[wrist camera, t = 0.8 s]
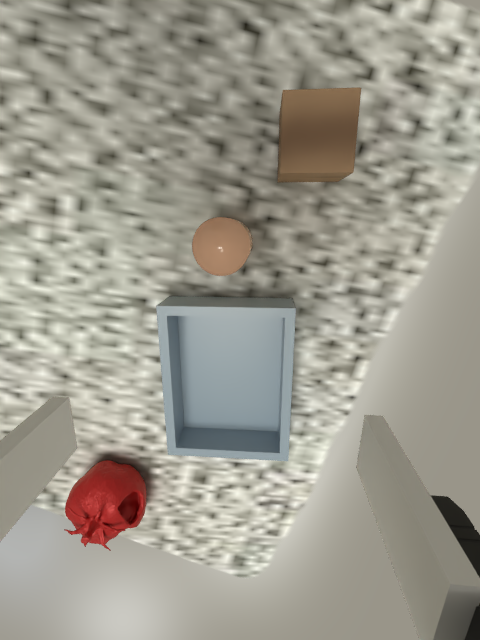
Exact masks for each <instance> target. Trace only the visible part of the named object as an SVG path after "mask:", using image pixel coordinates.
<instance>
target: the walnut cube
mask: <svg viewBox="0 0 480 640" xmlns="http://www.w3.org/2000/svg"><path fill="white" fill-rule="evenodd" d="M360 95H361V88H333V89H302V90H283V93H282V101H281V108H280V120H279V154H278V182H338V181H340V180H341V179H343V178H345V177H346V176H348V175H350V174H352V173H353V171H354V160H355V149H356V138H357V127H358V116H359V106H360Z"/></svg>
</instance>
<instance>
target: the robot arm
mask: <svg viewBox="0 0 480 640" xmlns="http://www.w3.org/2000/svg"><path fill="white" fill-rule="evenodd" d="M76 449H77V442H76V436H75V430H74V424H73V418H72V411H71V405H70V399H69V397H52V398H51V399H50V400H48V401H47V402H46V403H45V404H44V405H42V406H41V407H40V408H39V409H38V410H36V411H35V412H34V413H33V414H32V415H30V416H29V417H28V418H27V419H26V420H24V421H23V422H22V423H21V424H20V425H18V426H17V427H16V428H15V429H14V430H12V431H11V432H10V433H9V434H8V435H6V436H5V437H4V438H3V439H2V440H0V542H1V540H2V539H3V538H4V537H5V536H6V534H7V533H8V532H9V531H10V529H11V528H12V527H13V526H14V525H15V523H16V522H17V521H18V520H19V518H20V517H21V516H22V515H23V514H24V512H25V511H26V510H27V509H28V507H29V506H30V505H31V504H32V503H33V501H34V500H35V499H36V498H37V497H38V495H39V494H40V493H41V492H42V490H43V489H44V488H45V487H46V486H47V484H48V483H49V482H50V481H51V479H52V478H53V477H54V476H55V475H56V473H57V472H58V471H59V470H60V469H61V467H62V466H63V465H64V464H65V462H66V461H67V460H68V459H69V458H70V456H71V455H72V454H73V453H74V451H75V450H76ZM356 468H357V471H358V473H359V476H360V479H361V482H362V484H363V487H364V490H365V493H366V495H367V498H368V501H369V503H370V506H371V509H372V512H373V514H374V517H375V520H376V523H377V525H378V528H379V531H380V533H381V536H382V539H383V542H384V544H385V547H386V550H387V553H388V555H389V558H390V561H391V564H392V566H393V569H394V572H395V575H396V577H397V580H398V583H399V585H400V588H401V591H402V594H403V596H404V599H405V602H406V604H407V607H408V610H409V613H410V616H411V618H412V621H413V624H414V627H415V629H416V632H417V635H418V637H419V640H480V535H479V533H478V532H477V530H475V529H474V526H473V524H472V523H471V521H470V520H469V518H468V517H467V515H466V514H465V512H464V511H463V510H462V509H461V508H460V507H458V506H457V505H456V504H455V503H454V502H453V501H452V500H451V499H450V498H448V497H444V496H431V495H430V494H429V492H428V491H427V489H426V487H425V486H424V484H423V482H422V480H421V479H420V477H419V475H418V474H417V472H416V470H415V469H414V467H413V466H412V464H411V462H410V460H409V459H408V457H407V455H406V454H405V452H404V450H403V449H402V447H401V445H400V444H399V442H398V440H397V439H396V437H395V436H394V434H393V432H392V430H391V428H390V427H389V425H388V423H387V422H386V420H385V419H384V417H383V416H374V415H365V416H364V422H363V428H362V435H361V441H360V447H359V454H358V461H357V466H356Z"/></svg>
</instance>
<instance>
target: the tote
mask: <svg viewBox="0 0 480 640" xmlns="http://www.w3.org/2000/svg"><path fill="white" fill-rule="evenodd" d="M156 308H157V321H158V334H159V346H160V359H161V372H162V384H163V397H164V410H165V422H166V435H167V448H168V455H184V456H203V457H221V458H240V459H259V460H277V461H288V455H289V435H290V415H291V395H292V375H293V355H294V335H295V315H296V307H295V305H294V302H293V299H292V298H252V297H188V296H169V297H168V298H166V299H165V300H164V301H162V302H161V303H160V304H158V305H157V306H156Z"/></svg>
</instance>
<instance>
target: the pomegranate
mask: <svg viewBox="0 0 480 640" xmlns="http://www.w3.org/2000/svg"><path fill="white" fill-rule="evenodd" d="M145 507H146V486H145V482H144V480H143V478H142V476H141V475H140V474H139V472H138V471H137V470H136V469H135V468H134V467H132V466H131V465H128V464H117V463H115V462H114V461H110V460H105V461H101V462H99V463H97V464H96V465H95V466H93V467H92V468H91V469H90V470H89V471H88V472H87V473H86V474H85V475H84V476H83V477H82V478H80V479H79V480H78V481H77V482H76V483H75V485H74V486H73V488H72V490H71V492H70V494H69V497H68V499H67V502H66V506H65V513H66V516H67V517H68V519H69V520H71V521H72V523H73V524H74V526H75V528H76V529H77V530H75V531H69V530H66V531H68V533H70V534H71V535H73V534H80V533H81V534H82V535H83V536H82V539H81V542H82V543H84V546H85V547H86V544H87V543H88V542H89V543H95V544H101V545H103V546H104V547H105V548H107V549H109V548H108V547H107V546H106V545H105V544H106V543H107V542H108V541H109V540H110V539H112V538H114V537H116V536H117V535H118V534H119V533H120V532H121V531H125V529H127V528H134V527H137V526H138V525H139V523H140V522H141V519H142V518H143V516H144V513H145ZM109 550H110V549H109Z"/></svg>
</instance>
